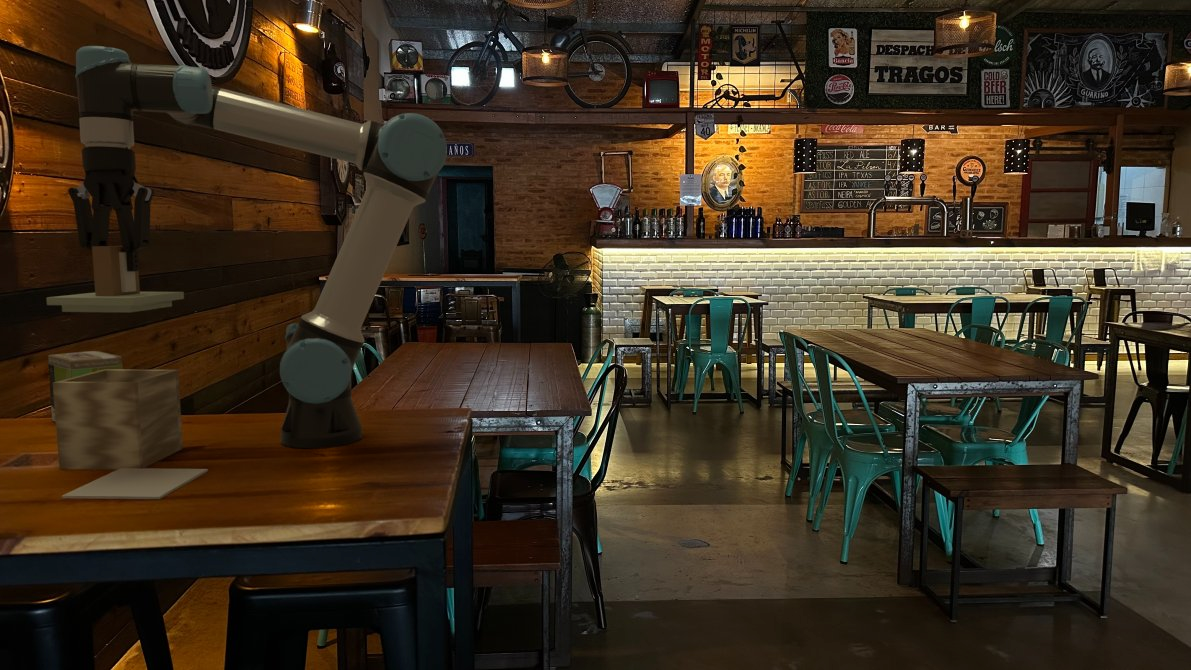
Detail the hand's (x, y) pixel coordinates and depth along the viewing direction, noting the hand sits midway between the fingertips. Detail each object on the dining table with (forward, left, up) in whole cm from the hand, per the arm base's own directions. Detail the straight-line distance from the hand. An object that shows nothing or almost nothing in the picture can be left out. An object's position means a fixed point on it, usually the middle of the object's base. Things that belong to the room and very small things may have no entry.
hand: (118, 291), depth 137 cm
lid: (0, 0, -3) cm, 3 cm away
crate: (+6, -7, -31) cm, 32 cm away
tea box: (+30, -35, -31) cm, 56 cm away
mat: (-6, +8, -31) cm, 32 cm away
